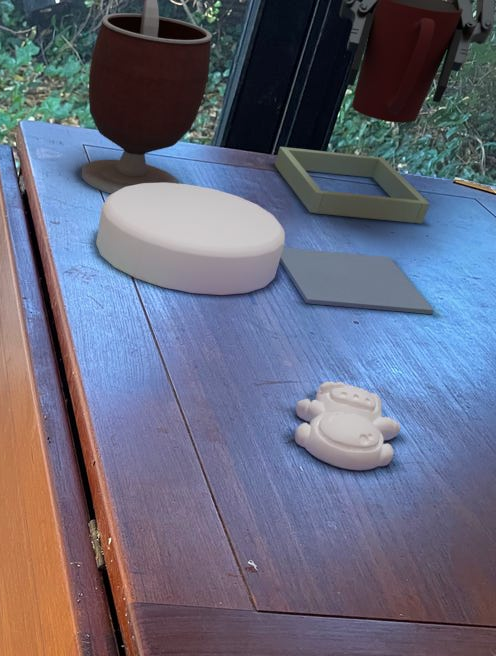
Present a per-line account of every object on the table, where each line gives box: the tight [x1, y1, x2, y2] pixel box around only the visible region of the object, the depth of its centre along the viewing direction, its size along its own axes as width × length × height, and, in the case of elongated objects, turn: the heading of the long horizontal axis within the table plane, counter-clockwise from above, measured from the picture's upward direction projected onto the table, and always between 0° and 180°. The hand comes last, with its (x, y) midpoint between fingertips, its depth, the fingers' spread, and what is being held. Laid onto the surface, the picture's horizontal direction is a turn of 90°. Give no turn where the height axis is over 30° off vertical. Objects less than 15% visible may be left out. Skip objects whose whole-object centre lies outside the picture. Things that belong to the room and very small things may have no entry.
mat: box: [279, 247, 435, 315], centre depth 109 cm, size 14×14×1 cm
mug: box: [351, 0, 463, 124], centre depth 109 cm, size 12×9×11 cm
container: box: [95, 183, 286, 296], centre depth 108 cm, size 20×20×5 cm
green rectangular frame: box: [274, 146, 431, 224], centre depth 132 cm, size 15×18×2 cm
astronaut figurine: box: [294, 381, 401, 471], centre depth 83 cm, size 9×12×3 cm
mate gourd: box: [81, 0, 213, 195], centre depth 120 cm, size 16×14×20 cm
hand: (395, 85), depth 108 cm, fingers closed on mug, 9 cm apart
